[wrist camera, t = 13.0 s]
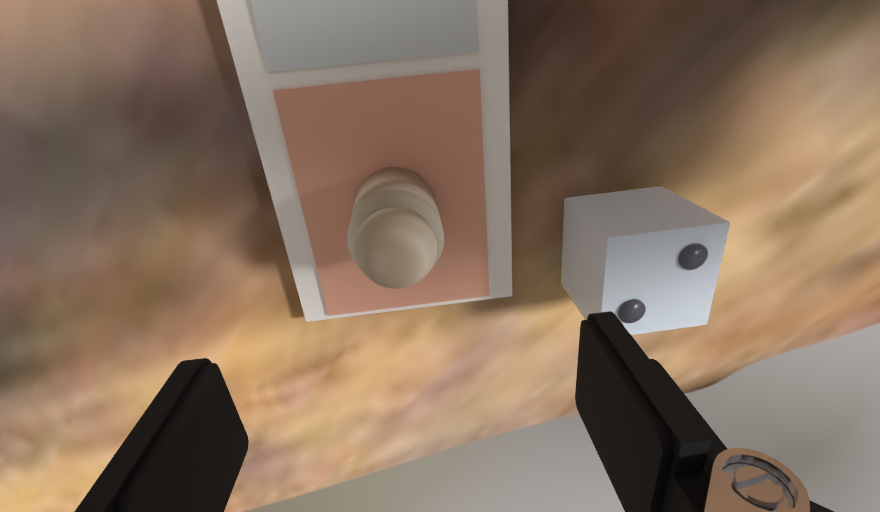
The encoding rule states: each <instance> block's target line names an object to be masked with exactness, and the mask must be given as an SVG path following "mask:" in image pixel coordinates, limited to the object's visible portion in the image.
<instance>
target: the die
mask: <svg viewBox="0 0 880 512" xmlns="http://www.w3.org/2000/svg"><path fill="white" fill-rule="evenodd" d="M729 225H730V222H728V221H727V220H725V219H723V218H721V217H719V216H717V215H715V214H713V213H711V212H710V211H708V210H706V209H704V208H702V207H700V206H698V205H696V204H695V203H693V202H691V201H689V200H687V199H685V198H683V197H681V196H679V195H678V194H676V193H674V192H672V191H670V190H668V189H666V188H664V187H663V186H658V187H650V188H642V189H633V190H625V191H617V192H609V193H601V194H592V195H584V196H576V197H568V198H564V217H563V244H562V271H561V285H562V286H563V288H564V289H565V291H566V292H567V294H568V295H569V296H570V298H571V299H572V301H573V302H574V304H575V305H576V307H577V308H578V310H579V311H580V312H581V314H582V315H583V317H584V318H585V320H587V317H588V315H589V314H592V313H601V312H609V311H611V312H613V313H614V314H615V315H616V316H617V318H618V319H619V320H620V321H621V323H622V324H623V325H624V327H625V328H626V329H627V331H628V332H629V333H630V335H634V334H641V333H648V332H656V331H663V330H670V329H678V328H685V327H692V326H700V325H707V322H708V317H709V313H710V309H711V304H712V300H713V295H714V291H715V287H716V282H717V278H718V273H719V269H720V265H721V260H722V256H723V251H724V247H725V242H726V238H727V234H728V229H729Z"/></svg>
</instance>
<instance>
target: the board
mask: <svg viewBox="0 0 880 512" xmlns="http://www.w3.org/2000/svg"><path fill="white" fill-rule="evenodd" d="M217 3H218V7H219V10H220V14H221V17H222V21H223V25H224V28H225V32H226V35H227V39H228V43H229V46H230V50H231V53H232V57H233V61H234V64H235V68H236V71H237V75H238V78H239V82H240V86H241V89H242V93H243V96H244V100H245V104H246V107H247V111H248V114H249V118H250V122H251V125H252V129H253V132H254V136H255V140H256V143H257V147H258V150H259V154H260V158H261V161H262V165H263V168H264V172H265V175H266V179H267V183H268V186H269V190H270V193H271V197H272V201H273V204H274V208H275V211H276V215H277V219H278V222H279V226H280V229H281V233H282V237H283V240H284V244H285V247H286V251H287V255H288V258H289V262H290V265H291V269H292V273H293V276H294V280H295V283H296V287H297V290H298V294H299V298H300V301H301V305H302V308H303V312H304V316H305V319H306V322H309V321H317V320H325V319H333V318H342V317H350V316H358V315H366V314H374V313H382V312H390V311H398V310H406V309H414V308H422V307H430V306H438V305H446V304H454V303H462V302H470V301H478V300H486V299H494V298H502V297H510V296H512V239H511V174H510V108H509V42H508V0H217ZM389 167H401V168H406V169H409V170H412V171H414V172H416V173H418V174H419V175H420V176H422V177H423V178H424V179H425V180H426V181H427V182H428V183H429V185H430V187H431V188H432V190H433V193H434V196H435V199H436V203H437V207H438V211H439V215H440V219H441V223H442V227H443V231H444V247H443V251H442V254H441V256H440V258H439V260H438V261H437V263H436V264H435V265H434V267H433V268H432V269H431V270H430V271H429V273H428V274H427V275H426V276H425V277H424V278H423V279H422V280H421V281H419V282H418V283H416V284H414V285H412V286H409V287H406V288H400V289H392V288H386V287H383V286H380V285H378V284H376V283H374V282H373V281H371V280H370V279H369V278H368V277H367V276H366V275H365V274H364V273H363V271H362V270H361V269H360V268H359V267H358V266H357V265H356V263H355V262H354V260H353V259H352V257H351V255H350V252H349V249H348V243H347V234H348V228H349V224H350V220H351V216H352V212H353V208H354V203H355V199H356V195H357V192H358V190H359V188H360V186H361V184H362V183H363V182H364V181H365V179H366V178H368V177H369V176H370V175H371V174H373V173H374V172H376V171H379V170H381V169H384V168H389Z"/></svg>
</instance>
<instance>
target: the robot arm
mask: <svg viewBox="0 0 880 512" xmlns="http://www.w3.org/2000/svg"><path fill="white" fill-rule="evenodd" d="M575 400H576V406H577V409H578V412H579V414H580V416H581V418H582V420H583V422H584V424H585V427H586V429H587V431H588V433H589V435H590V437H591V439H592V442H593V444H594V446H595V448H596V450H597V452H598V455H599V457H600V459H601V461H602V463H603V465H604V468H605V469H606V472H607V474H608V476H609V478H610V480H611V483H612V484H613V487H614V489H615V491H616V493H617V495H618V498H619V500H620V502H621V504H622V506H623V508H624V510H625V512H834V511H831V510H829V509H827V508H825V507H822V506H820V505H818V504H816V503H814V502H812V501H810V500H809V497H808V493H807V490H806V489H805V487H804V485H803V484H802V482H801V481H800V479H799V478H798V477H797V476H796V475H795V474H794V473H793V472H792V471H791V470H790V469H789V468H788V467H786V466H785V465H783V464H782V463H780V462H779V461H777V460H776V459H774V458H772V457H770V456H768V455H766V454H763V453H761V452H758V451H754V450H750V449H744V448H732V449H727V448H726V447H725V445H724V444H723V443H722V441H721V440H720V439H719V438H718V436H717V435H716V434H715V433H714V431H713V430H712V429H711V428H710V426H709V425H708V424H707V422H706V421H705V420H704V419H703V417H702V416H701V415H700V414H699V412H698V411H697V410H696V408H695V407H694V406H693V405H692V403H691V402H690V401H689V400H688V398H687V397H686V396H685V395H684V393H683V392H682V391H681V389H680V388H679V387H678V386H677V384H676V383H675V382H674V381H673V379H672V378H671V377H670V376H669V374H668V373H667V372H666V370H665V369H664V368H663V367H662V365H661V364H660V363H659V362H658V361H656V360H654V359H649V358H648V357H647V355H646V354H645V353H644V352H643V350H642V349H641V348H640V346H639V345H638V344H637V342H636V341H635V340H634V338H633V337H632V336H631V335H630V333H629V332H628V331H627V329H626V328H625V327H624V325H623V324H622V323H621V321H620V320H619V319H618V318H617V316H616V315H615V314H614V313H613V312H611V311H609V312H601V313H592V314H589V315H588V317H587V320H583V321H582V322H581V327H580V340H579V353H578V367H577V380H576V393H575ZM247 450H248V436H247V433H246V431H245V429H244V426H243V424H242V421H241V419H240V417H239V414H238V412H237V409H236V407H235V405H234V402H233V400H232V398H231V395H230V393H229V390H228V388H227V386H226V383H225V381H224V378H223V376H222V374H221V371H220V369H219V367H218V365H217V364H216V363H211V361H210V360H209V359H206V358H203V359H195V360H186V361H182V362H180V363H179V364H178V366H177V367H176V368H175V370H174V371H173V373H172V374H171V376H170V377H169V378H168V380H167V381H166V383H165V384H164V385H163V387H162V388H161V390H160V391H159V393H158V394H157V395H156V397H155V398H154V400H153V401H152V403H151V404H150V405H149V407H148V408H147V410H146V411H145V412H144V414H143V415H142V417H141V418H140V420H139V421H138V422H137V424H136V425H135V427H134V428H133V430H132V431H131V432H130V434H129V435H128V437H127V438H126V439H125V441H124V442H123V444H122V445H121V447H120V448H119V449H118V451H117V452H116V454H115V455H114V457H113V458H112V459H111V461H110V462H109V464H108V465H107V466H106V468H105V469H104V471H103V472H102V474H101V475H100V476H99V478H98V479H97V481H96V482H95V484H94V485H93V486H92V488H91V489H90V491H89V492H88V493H87V495H86V496H85V498H84V499H83V501H82V502H81V503H80V505H79V506H78V508H77V509H76V511H75V512H224V510H225V507H226V505H227V502H228V500H229V497H230V494H231V492H232V489H233V487H234V484H235V482H236V479H237V476H238V474H239V471H240V469H241V466H242V463H243V461H244V458H245V456H246V453H247Z"/></svg>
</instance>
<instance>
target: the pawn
mask: <svg viewBox="0 0 880 512" xmlns="http://www.w3.org/2000/svg"><path fill="white" fill-rule="evenodd" d="M347 243H348V249H349V252H350V255H351V257H352V259H353V260H354V262H355V263H356V265H357V266H358V267H359V268H360V269H361V270H362V271H363V273H364V274H365V275H366V276H367V277H368V278H369V279H370V280H371V281H373V282H374V283H376V284H378V285H380V286H383V287H386V288H392V289H400V288H406V287H409V286H412V285H414V284H416V283H418V282H419V281H421V280H422V279H423V278H424V277H425V276H426V275H427V274H428V273H429V271H430V270H431V269H432V268H433V267H434V265H435V264H436V263H437V261H438V260H439V258H440V256H441V254H442V251H443V247H444V231H443V227H442V223H441V219H440V215H439V211H438V207H437V203H436V199H435V196H434V193H433V190H432V188H431V187H430V185H429V183H428V182H427V181H426V180H425V179H424V178H423V177H422V176H420V175H419V174H418V173H416V172H414V171H412V170H409V169H406V168H401V167H389V168H384V169H381V170H379V171H376V172H374V173H373V174H371V175H370V176H369V177H368V178H366V179H365V181H364V182H363V183H362V184H361V186H360V188H359V190H358V192H357V195H356V199H355V203H354V208H353V212H352V216H351V220H350V224H349V228H348V234H347Z"/></svg>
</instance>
